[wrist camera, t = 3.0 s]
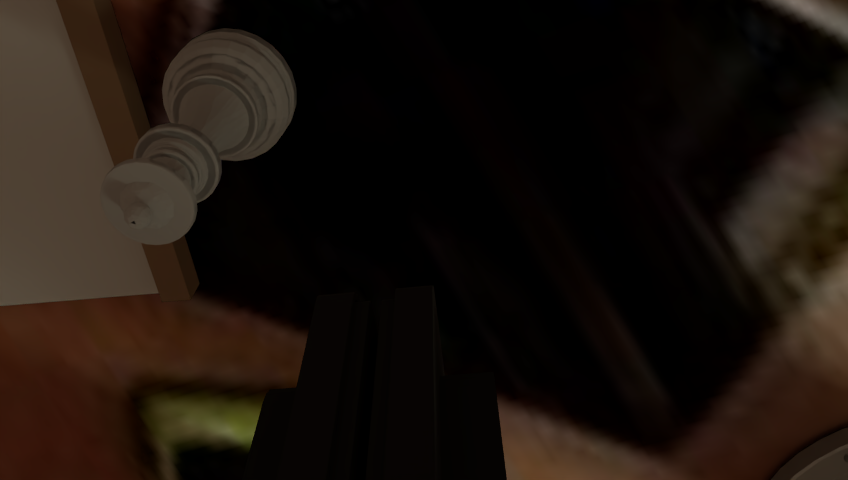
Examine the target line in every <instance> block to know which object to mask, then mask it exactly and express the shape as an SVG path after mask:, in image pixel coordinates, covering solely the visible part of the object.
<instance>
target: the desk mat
mask: <svg viewBox="0 0 848 480" xmlns="http://www.w3.org/2000/svg"><path fill="white" fill-rule="evenodd" d="M150 129H151V127H150V124H149V121H148V118H147V115H146V112H145V108H144V105H143V102H142V99H141V96H140V93H139V89H138V86H137V83H136V80H135V77H134V73H133V70H132V67H131V64H130V61H129V58H128V54H127V51H126V48H125V45H124V42H123V39H122V35H121V32H120V29H119V26H118V23H117V19H116V16H115V13H114V10H113V7H112V4H111V0H0V306H6V305H19V304H31V303H44V302H56V301H68V300H81V299H93V298H105V297H118V296H130V295H142V294H155V293H159V295H160V298H161V301H162V302H171V301H184V300H191V299H192V297H193V295H194V293H195V291H196V289H197V287H198V285H199V284H200V283H199V280H198V277H197V274H196V271H195V267H194V264H193V261H192V258H191V255H190V251H189V248H188V245H187V242H186V239H185V236H184V235H183V236H182V237H181V238H180V239H178V240H176V241H173V242H171V243H169V244H162V245H150V244H144V243H140V242H137V241H134V240H132V239H130V238H128V237H127V236H125V235H123V234H122V233H121V232H119V231H118V230H117V229H116V228H115V227H114V226H113V225H112V224H111V223H110V221H109V220H108V219H107V217H106V215H105V213H104V211H103V209H102V206H101V200H100V191H101V185H102V183H103V181H104V179H105V177H106V175H107V173H108V172H109V171H110V170H111V169H112V168H113V167H114V166H116V165H117V164H119V163H121V162H123V161H125V160H128V159H133V155H134V149H135V147H136V145H137V143H138V141H139V139H140V138H141V137H142V136H143V135H144V134H145V133H146V132H147V131H149V130H150Z"/></svg>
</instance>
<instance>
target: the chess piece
mask: <svg viewBox="0 0 848 480" xmlns="http://www.w3.org/2000/svg"><path fill="white" fill-rule="evenodd" d="M162 94H163V104H164V108H165V110H166V113H167V116H168V118H169V121H170V122H171V123H167V124H161V125H158V126H156V127H153V128H151V129H150V130H149V131H147V132H146V133H145V134H144V135H143V136H142V137H141V138H140V139H139V141H138V143H137V145H136V147H135V149H134V155H133V159H128V160H125V161H123V162H121V163H119V164H117V165H116V166H114V167H113V168H112V169H111V170H110V171H109V172H108V173H107V175H106V177H105V179H104V181H103V183H102V185H101V191H100V200H101V206H102V209H103V211H104V213H105V215H106V217H107V219H108V220H109V221H110V223H111V224H112V225H113V226H114V227H115V228H116V229H117V230H118V231H119V232H121V233H122V234H123V235H125V236H127V237H128V238H130V239H132V240H134V241H137V242H140V243H144V244H150V245H162V244H169V243H171V242H173V241H176V240H178V239H180V238H181V237H182V236H183V235H185V234H186V233H187V232H188V231H189V230H190V228H191V227H192V225H193V223H194V222H195V219H196V214H197V203H198V202H201V201H203V200H205V199H206V198H207V197H208V196H210V195H211V194H212V193H213V191H214V190H215V188H216V186H217V185H218V183H219V181H220V178H221V174H222V164H221V160H231V161H240V160H246V159H252V158H254V157H256V156H259V155H261V154H263V153H265V152H267V151H268V150H269V149H270V148H271V147H272V146H274V145H275V144H276V143H277V141H278V140H279V138H280V137H281V136H282V135H283V133H284V132H285V130H286V128H287V127H288V125H289V124H290V122H291V120H292V118H293V114H294V110H295V107H296V85H295V82H294V78H293V74H292V71H291V70H290V68H289V66H288V64H287V63H286V61H285V59H284V58H283V56H282V55H281V54H280V53H279V52H278V51H277V50H276V49H275V48H274V47H273V46H272V45H271V44H269V43H268V42H266V41H265V40H263V39H262V38H260V37H259V36H257V35H254V34H252V33H249V32H246V31H243V30H238V29H227V28H222V29H217V30H212V31H207V32H205V33H203V34H201V35H199V36H197V37H195V38H193V39H192V40H191V41H190V42H189V43H188V44H187V45H186V46H185V47H184V48H183V49H182V50H181V51H180V52H179V53H178V54H177V56H176V57H175V58H174V59H173V60H172V61H171V63H170V65H169V67H168V69H167V71H166V73H165V76H164V81H163V87H162Z"/></svg>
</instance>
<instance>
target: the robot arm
mask: <svg viewBox="0 0 848 480" xmlns="http://www.w3.org/2000/svg"><path fill="white" fill-rule="evenodd" d="M242 480H507V478H506V470H505V461H504V453H503V445H502V437H501V428H500V420H499V412H498V404H497V395H496V387H495V379H494V373H493V372H484V373H471V374H459V375H447V376H445V374H444V366H443V358H442V350H441V342H440V334H439V325H438V317H437V309H436V301H435V293H434V287H433V285H430V286H419V287H407V288H396V290H395V299H384V300H382V302H381V311H380V323H379V334H378V331H377V326H376V320H375V315H374V309H373V305H372V302H371V301H362V302H359V298H358V295H357V293H356V292H351V293H339V294H328V295H319V296H317V299H316V302H315V307H314V311H313V316H312V320H311V325H310V329H309V334H308V338H307V343H306V347H305V352H304V356H303V361H302V365H301V369H300V374H299V378H298V383H297V387H296V388H286V389H273V390H269V392H268V393H267V394H266V396H265V399H264V401H263V404H262V408H261V412H260V415H259V419H258V423H257V426H256V430H255V434H254V437H253V441H252V445H251V448H250V452H249V455H248V459H247V463H246V466H245V470H244V474H243V477H242ZM771 480H848V427H846V428H844V429H841V430H839V431H837V432H835V433H833V434H831V435H828V436H826V437H824V438H822V439H820V440H818V441H817V442H815V443H813V444H812V445H810V446H809V447H807V448H806V449H804V450H802V451H801V452H799V453H798V454H797V455H795V456H794V457H793V458H792V459H791V460H790V461H788V462H787V463H786V464H785V465H784V466H783V467H781V468H780V469H779V471H778V472H777V473H776V474H775V475H774V477H773V478H772V479H771Z"/></svg>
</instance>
